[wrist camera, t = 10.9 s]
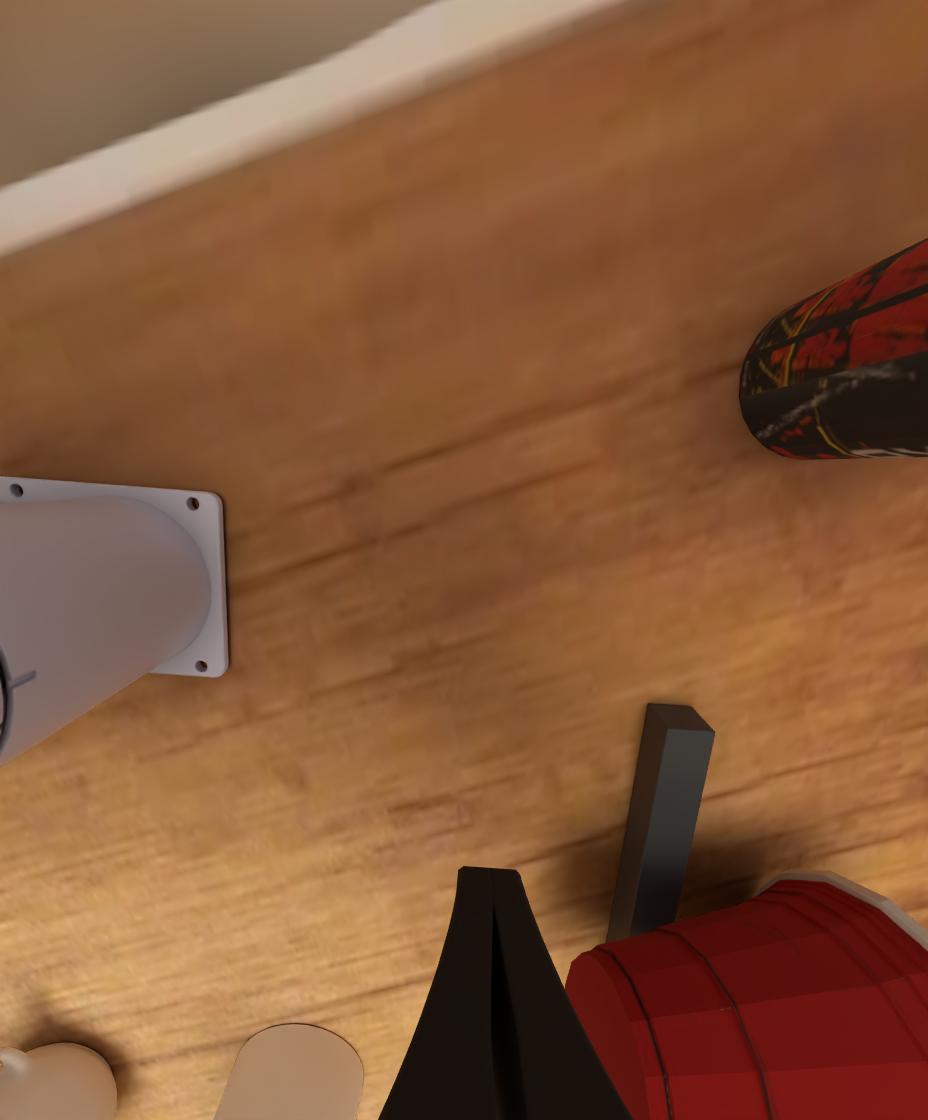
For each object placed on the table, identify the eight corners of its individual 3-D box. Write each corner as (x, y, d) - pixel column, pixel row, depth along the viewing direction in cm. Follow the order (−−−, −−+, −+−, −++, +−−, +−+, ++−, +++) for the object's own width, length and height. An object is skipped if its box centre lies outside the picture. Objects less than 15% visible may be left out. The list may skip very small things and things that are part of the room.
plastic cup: (518, 955, 22) (728, 951, 24) (608, 1439, 12) (950, 1357, 14) (587, 799, 18) (831, 812, 20) (808, 1337, 8) (1239, 1243, 10)
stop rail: (593, 1009, 24) (605, 1058, 22) (647, 702, 20) (667, 728, 18) (631, 1011, 24) (645, 1060, 22) (691, 706, 20) (716, 732, 18)
